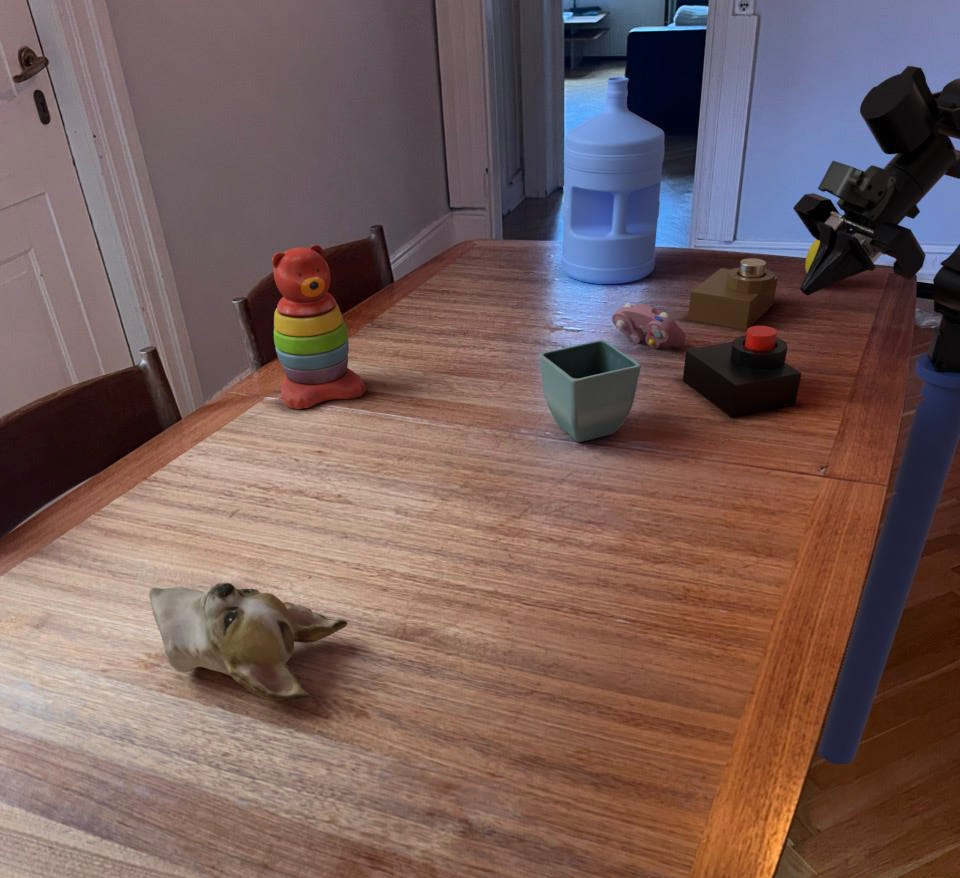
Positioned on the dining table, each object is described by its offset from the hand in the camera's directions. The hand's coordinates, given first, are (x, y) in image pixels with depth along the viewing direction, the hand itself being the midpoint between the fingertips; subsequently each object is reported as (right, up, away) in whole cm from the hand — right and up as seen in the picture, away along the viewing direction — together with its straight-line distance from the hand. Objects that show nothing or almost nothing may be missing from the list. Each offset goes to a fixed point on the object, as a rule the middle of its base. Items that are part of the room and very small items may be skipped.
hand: (803, 292), depth 111 cm
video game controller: (-16, 0, +19) cm, 25 cm away
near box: (-6, -11, +6) cm, 14 cm away
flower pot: (-27, -17, -1) cm, 32 cm away
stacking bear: (-60, -9, +11) cm, 62 cm away
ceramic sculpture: (-59, -45, -33) cm, 81 cm away
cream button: (0, +11, +23) cm, 26 cm away
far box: (-1, +8, +28) cm, 29 cm away
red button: (-5, -6, +3) cm, 8 cm away
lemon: (+15, +14, +35) cm, 41 cm away
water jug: (-18, +20, +45) cm, 52 cm away
